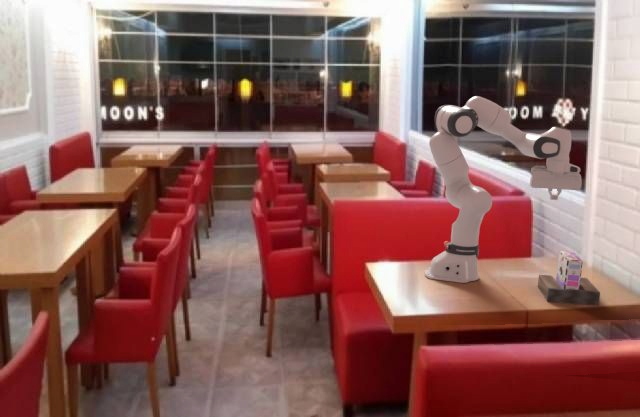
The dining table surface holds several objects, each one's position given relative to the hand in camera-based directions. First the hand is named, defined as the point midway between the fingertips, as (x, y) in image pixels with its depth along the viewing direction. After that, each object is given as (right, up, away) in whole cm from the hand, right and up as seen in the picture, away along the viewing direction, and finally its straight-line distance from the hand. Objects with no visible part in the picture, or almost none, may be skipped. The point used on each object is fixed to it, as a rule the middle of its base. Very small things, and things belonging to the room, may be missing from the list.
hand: (553, 199), depth 282 cm
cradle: (-1, -37, -18) cm, 42 cm away
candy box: (-2, -38, -20) cm, 43 cm away
